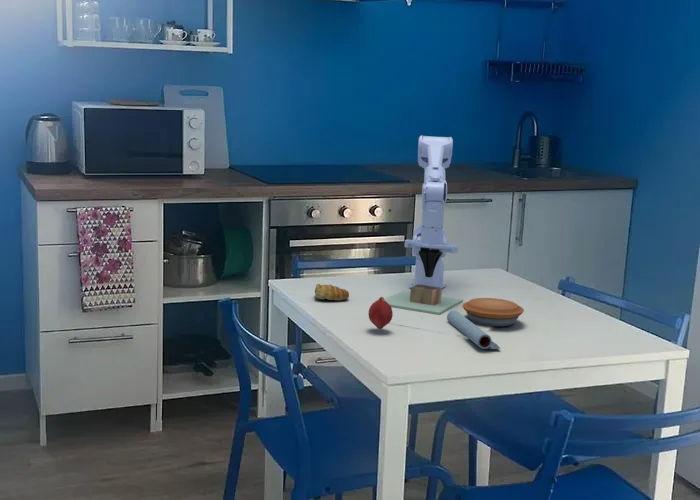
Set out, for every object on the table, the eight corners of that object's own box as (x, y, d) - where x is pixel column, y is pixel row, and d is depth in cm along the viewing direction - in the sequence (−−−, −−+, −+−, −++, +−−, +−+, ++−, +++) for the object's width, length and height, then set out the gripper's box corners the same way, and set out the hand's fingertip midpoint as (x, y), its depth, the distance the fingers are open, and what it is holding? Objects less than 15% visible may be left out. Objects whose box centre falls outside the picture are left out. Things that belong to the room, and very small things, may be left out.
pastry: (347, 297, 243) (348, 283, 243) (350, 302, 236) (351, 288, 236) (313, 295, 242) (314, 281, 241) (315, 300, 235) (315, 286, 235)
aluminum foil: (446, 323, 222) (447, 310, 222) (471, 322, 224) (472, 309, 223) (477, 349, 201) (478, 334, 200) (505, 348, 202) (506, 334, 201)
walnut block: (417, 284, 243) (441, 287, 240) (416, 298, 244) (440, 302, 240) (410, 287, 238) (435, 290, 235) (409, 301, 239) (434, 305, 236)
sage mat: (402, 292, 253) (403, 290, 252) (462, 301, 245) (463, 299, 245) (376, 304, 237) (376, 302, 236) (439, 314, 229) (439, 312, 229)
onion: (364, 326, 214) (365, 293, 213) (385, 325, 216) (387, 293, 215) (373, 332, 209) (374, 299, 207) (395, 331, 211) (397, 298, 209)
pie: (524, 317, 232) (525, 298, 231) (520, 331, 217) (522, 311, 216) (465, 310, 235) (466, 292, 234) (457, 324, 220) (459, 305, 219)
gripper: (401, 225, 236) (398, 275, 238) (452, 231, 229) (449, 282, 232) (411, 222, 242) (408, 271, 244) (461, 228, 236) (458, 278, 238)
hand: (429, 276), depth 239 cm, fingers closed
